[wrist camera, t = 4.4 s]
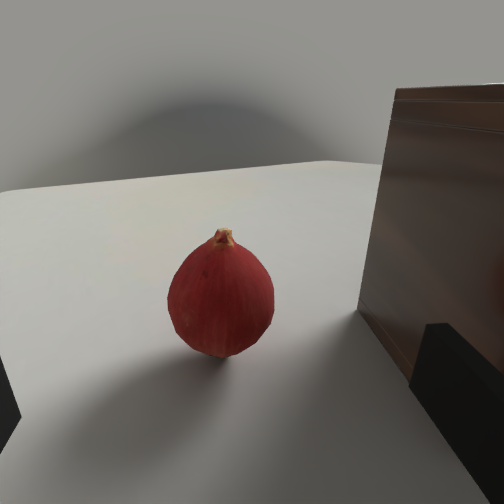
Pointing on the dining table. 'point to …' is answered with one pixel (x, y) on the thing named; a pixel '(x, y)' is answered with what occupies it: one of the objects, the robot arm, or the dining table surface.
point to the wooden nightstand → (439, 223)
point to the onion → (221, 297)
